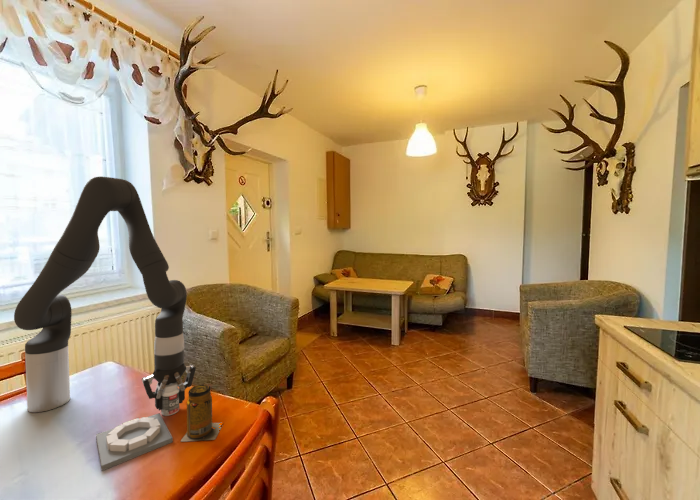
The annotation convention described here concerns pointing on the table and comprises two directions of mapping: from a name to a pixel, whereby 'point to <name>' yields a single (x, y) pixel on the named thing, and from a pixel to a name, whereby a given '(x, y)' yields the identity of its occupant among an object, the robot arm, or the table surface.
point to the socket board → (133, 453)
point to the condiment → (200, 415)
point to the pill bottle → (170, 399)
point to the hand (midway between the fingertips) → (170, 405)
